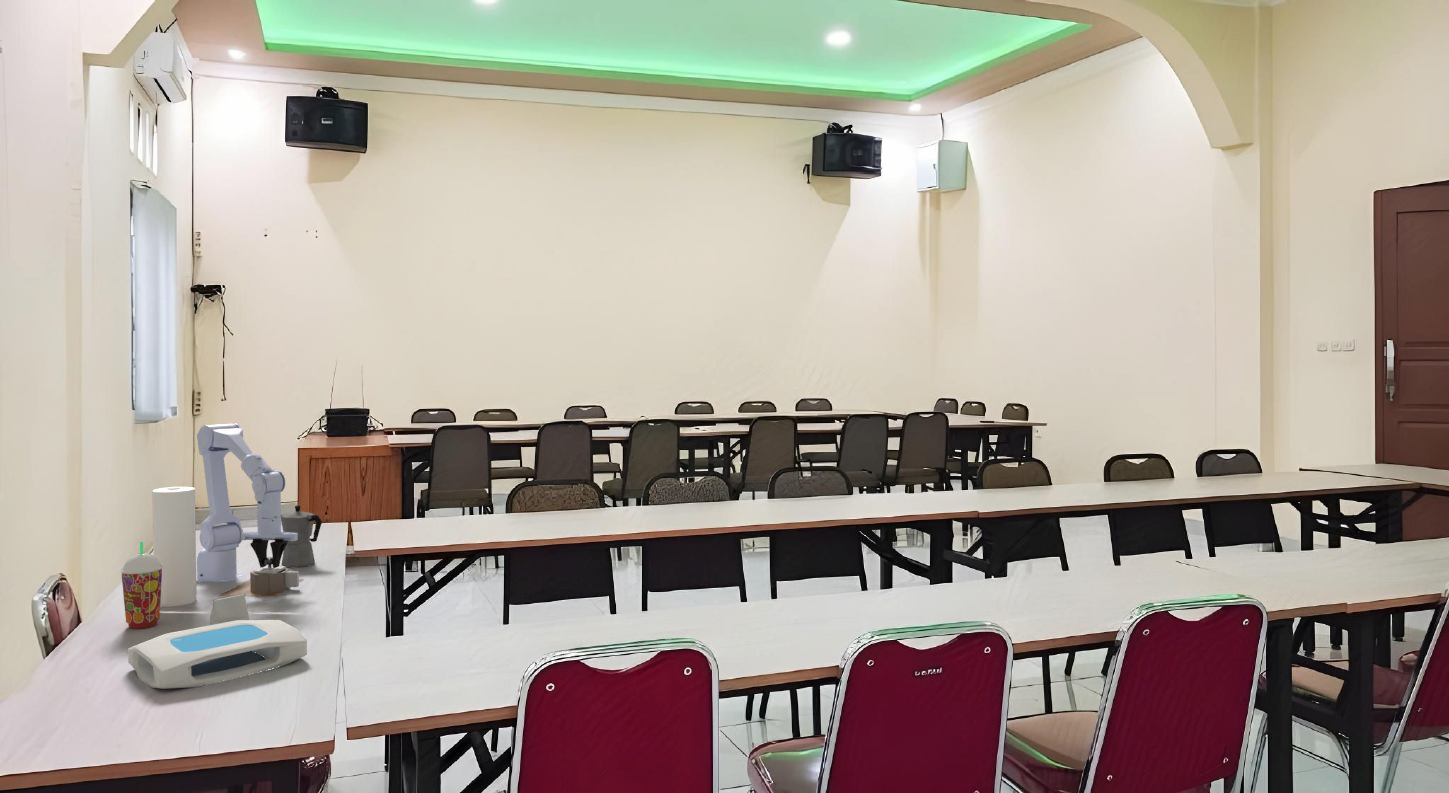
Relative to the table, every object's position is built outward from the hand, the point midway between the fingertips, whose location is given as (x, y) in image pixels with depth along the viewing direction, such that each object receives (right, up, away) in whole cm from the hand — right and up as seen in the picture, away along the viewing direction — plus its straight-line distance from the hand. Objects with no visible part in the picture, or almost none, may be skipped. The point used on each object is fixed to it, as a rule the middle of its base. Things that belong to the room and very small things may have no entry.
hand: (269, 566), depth 257 cm
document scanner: (+17, -11, -58) cm, 62 cm away
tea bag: (+11, -9, -42) cm, 45 cm away
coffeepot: (-6, -5, +32) cm, 33 cm away
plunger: (0, -6, 0) cm, 6 cm away
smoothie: (-15, -8, -32) cm, 36 cm away
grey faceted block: (+1, -6, 0) cm, 6 cm away
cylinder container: (-18, -7, -13) cm, 23 cm away
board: (-3, -7, +2) cm, 8 cm away
